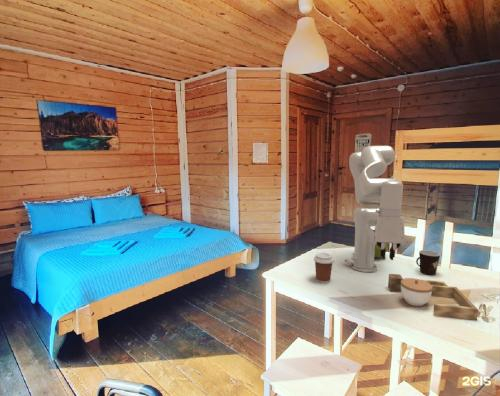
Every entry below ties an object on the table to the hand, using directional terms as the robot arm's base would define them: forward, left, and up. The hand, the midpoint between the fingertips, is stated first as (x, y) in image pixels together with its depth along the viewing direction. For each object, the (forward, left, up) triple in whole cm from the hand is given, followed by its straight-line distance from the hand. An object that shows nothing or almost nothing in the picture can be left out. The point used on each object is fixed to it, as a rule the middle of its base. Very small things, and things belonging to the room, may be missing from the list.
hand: (387, 258), depth 114 cm
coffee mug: (+24, +32, -17) cm, 44 cm away
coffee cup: (-24, +13, -17) cm, 32 cm away
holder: (+22, +4, -17) cm, 28 cm away
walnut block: (+6, +10, -17) cm, 21 cm away
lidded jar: (+11, 0, -17) cm, 21 cm away
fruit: (+2, +50, -17) cm, 53 cm away
